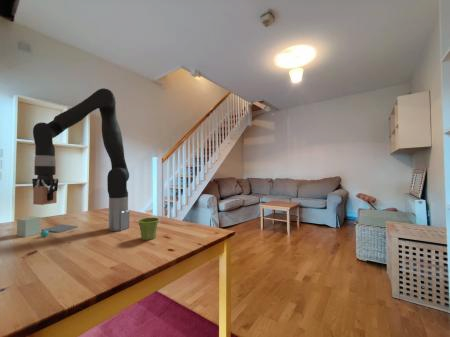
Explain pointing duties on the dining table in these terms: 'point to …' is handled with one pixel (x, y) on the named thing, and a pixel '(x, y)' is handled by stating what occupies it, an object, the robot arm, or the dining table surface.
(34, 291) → the dining table surface
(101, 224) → the dining table surface
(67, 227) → the slate mat
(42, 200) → the brown block
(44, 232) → the teal marble
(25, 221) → the pale green block
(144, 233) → the plant pot
